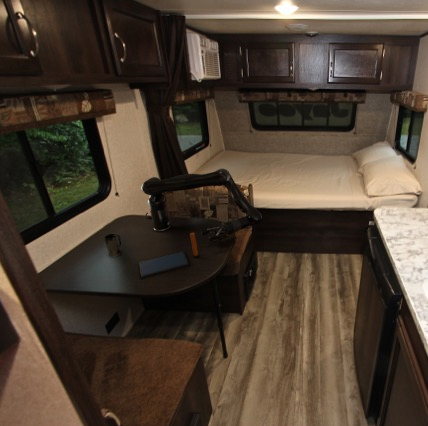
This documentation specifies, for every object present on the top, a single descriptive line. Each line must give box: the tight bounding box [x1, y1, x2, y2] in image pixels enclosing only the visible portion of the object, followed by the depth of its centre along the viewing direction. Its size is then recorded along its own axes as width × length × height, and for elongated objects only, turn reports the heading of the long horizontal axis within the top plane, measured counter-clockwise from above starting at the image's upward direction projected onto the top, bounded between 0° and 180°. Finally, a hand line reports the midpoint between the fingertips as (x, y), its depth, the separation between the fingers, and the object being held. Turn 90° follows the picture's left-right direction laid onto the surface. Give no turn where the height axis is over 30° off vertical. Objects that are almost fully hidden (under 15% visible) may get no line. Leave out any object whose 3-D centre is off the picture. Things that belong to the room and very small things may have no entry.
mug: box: [104, 233, 122, 258], centre depth 156 cm, size 8×6×12 cm
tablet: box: [138, 250, 190, 279], centre depth 150 cm, size 14×22×1 cm, turn 120°
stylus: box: [189, 232, 199, 258], centre depth 155 cm, size 2×2×14 cm
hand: (205, 236), depth 158 cm, fingers open, 8 cm apart
